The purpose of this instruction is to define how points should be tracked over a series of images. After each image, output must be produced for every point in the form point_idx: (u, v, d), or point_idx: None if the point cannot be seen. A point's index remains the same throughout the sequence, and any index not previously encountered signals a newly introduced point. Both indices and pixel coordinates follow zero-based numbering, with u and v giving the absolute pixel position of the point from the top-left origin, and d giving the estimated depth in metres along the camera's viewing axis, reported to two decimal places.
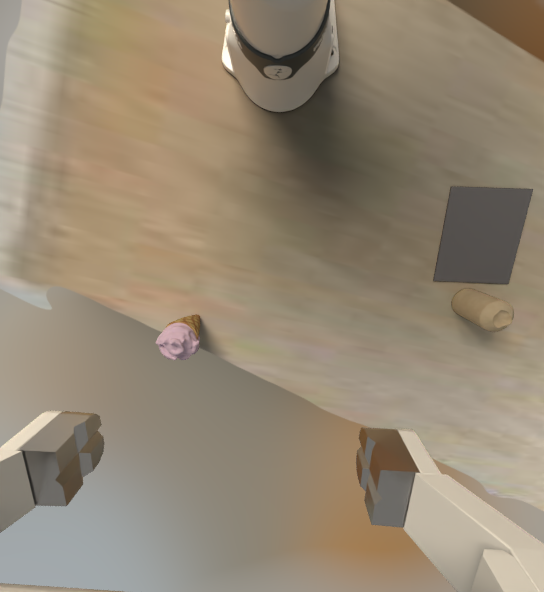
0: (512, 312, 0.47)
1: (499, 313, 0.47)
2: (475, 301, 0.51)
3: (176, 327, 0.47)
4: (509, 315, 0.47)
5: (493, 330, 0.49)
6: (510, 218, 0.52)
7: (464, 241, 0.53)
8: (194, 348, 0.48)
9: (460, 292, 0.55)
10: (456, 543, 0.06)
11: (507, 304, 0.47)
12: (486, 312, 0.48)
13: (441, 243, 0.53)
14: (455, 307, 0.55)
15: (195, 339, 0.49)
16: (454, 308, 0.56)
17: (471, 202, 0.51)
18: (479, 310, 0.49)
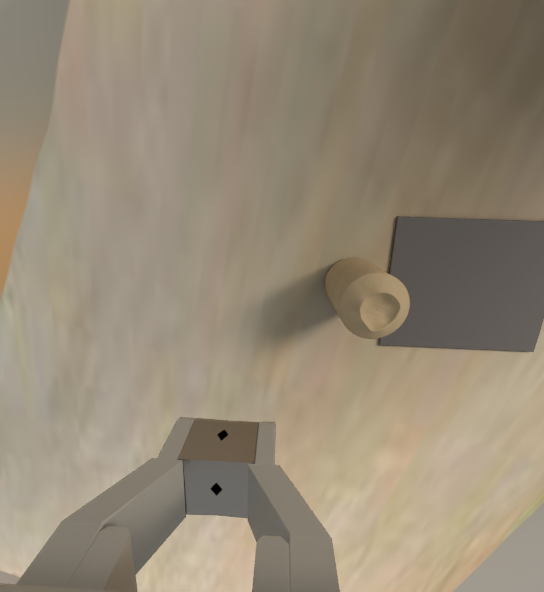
0: (385, 332, 0.23)
1: (387, 308, 0.22)
2: None
3: None
4: (385, 325, 0.22)
5: (345, 304, 0.23)
6: (493, 327, 0.32)
7: (466, 260, 0.30)
8: None
9: None
10: (268, 531, 0.06)
11: (402, 321, 0.23)
12: (389, 281, 0.22)
13: (469, 220, 0.29)
14: (347, 260, 0.29)
15: None
16: (343, 260, 0.29)
17: (534, 260, 0.29)
18: (386, 273, 0.23)
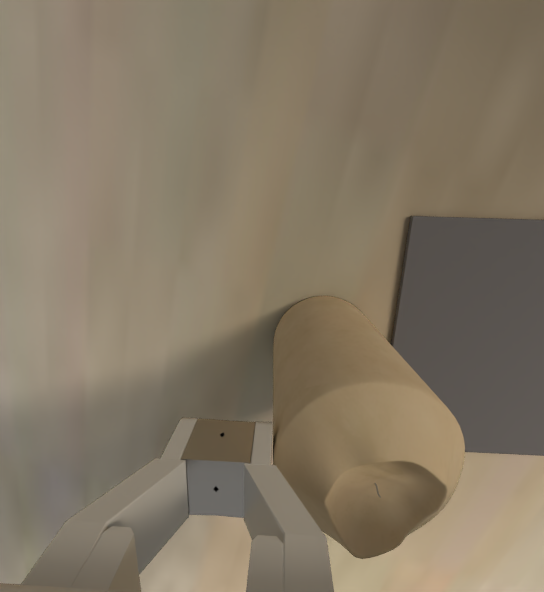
0: None
1: (407, 482, 0.08)
2: (397, 353, 0.11)
3: None
4: (400, 534, 0.08)
5: (286, 467, 0.08)
6: None
7: None
8: None
9: None
10: (263, 531, 0.06)
11: None
12: (413, 412, 0.07)
13: None
14: (313, 304, 0.14)
15: None
16: (305, 304, 0.15)
17: None
18: (401, 375, 0.08)
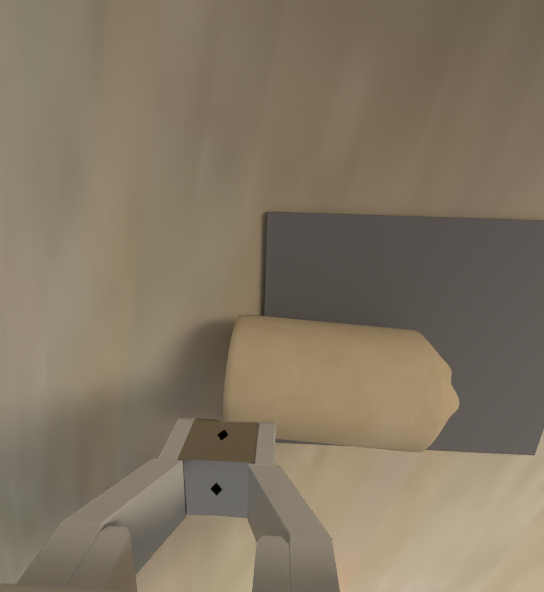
0: None
1: None
2: None
3: None
4: None
5: (442, 426, 0.12)
6: (460, 415, 0.17)
7: (406, 296, 0.15)
8: None
9: None
10: (268, 532, 0.06)
11: None
12: None
13: (407, 218, 0.14)
14: (265, 336, 0.12)
15: None
16: (253, 343, 0.12)
17: (536, 296, 0.15)
18: (407, 330, 0.13)
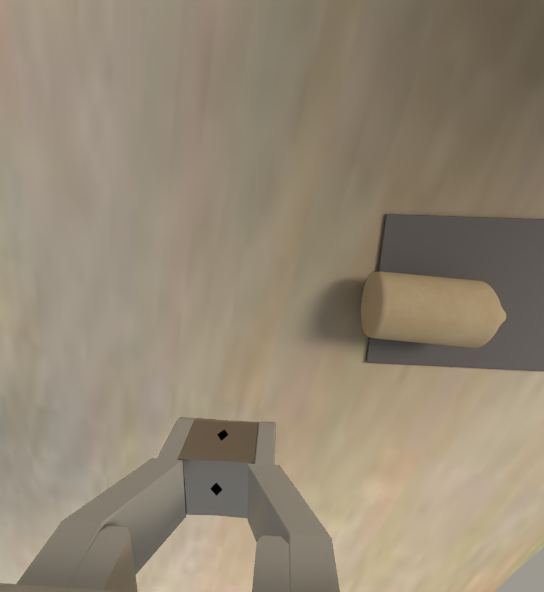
0: None
1: None
2: None
3: None
4: None
5: (498, 325, 0.21)
6: (498, 343, 0.27)
7: (467, 266, 0.25)
8: None
9: None
10: (268, 531, 0.06)
11: None
12: None
13: (471, 218, 0.24)
14: (398, 278, 0.22)
15: None
16: (393, 280, 0.22)
17: None
18: None
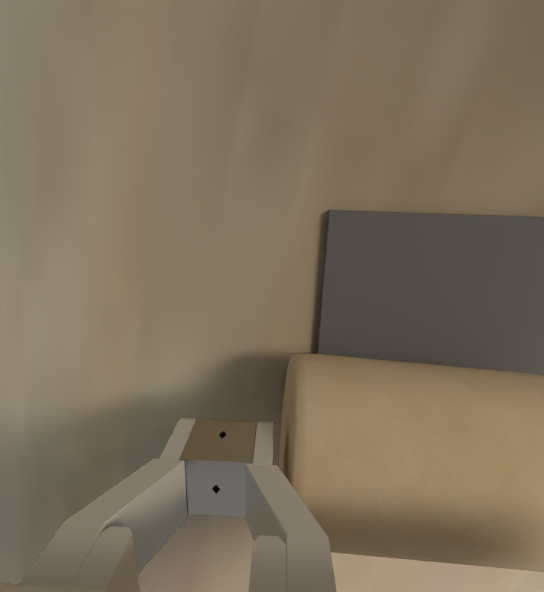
0: None
1: None
2: None
3: None
4: None
5: None
6: None
7: (518, 328, 0.11)
8: None
9: None
10: (265, 531, 0.06)
11: None
12: None
13: (531, 219, 0.10)
14: (347, 391, 0.08)
15: None
16: (332, 403, 0.08)
17: None
18: (541, 377, 0.09)
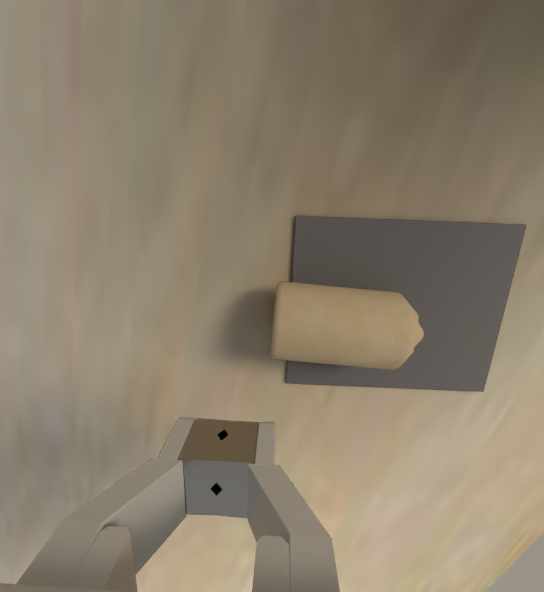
0: None
1: None
2: None
3: None
4: None
5: (412, 344, 0.18)
6: (430, 361, 0.24)
7: (390, 274, 0.22)
8: None
9: None
10: (268, 531, 0.06)
11: None
12: None
13: (391, 220, 0.21)
14: (299, 290, 0.19)
15: None
16: (292, 293, 0.19)
17: (479, 274, 0.22)
18: None
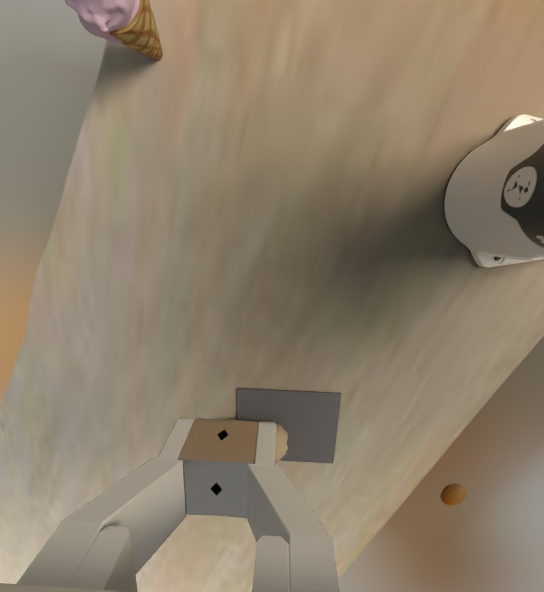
0: None
1: None
2: None
3: None
4: None
5: (280, 454, 0.44)
6: (305, 449, 0.50)
7: (282, 412, 0.48)
8: (90, 19, 0.25)
9: None
10: (268, 531, 0.06)
11: None
12: (282, 428, 0.47)
13: (279, 391, 0.47)
14: None
15: (110, 26, 0.26)
16: None
17: (322, 413, 0.48)
18: (277, 425, 0.46)
